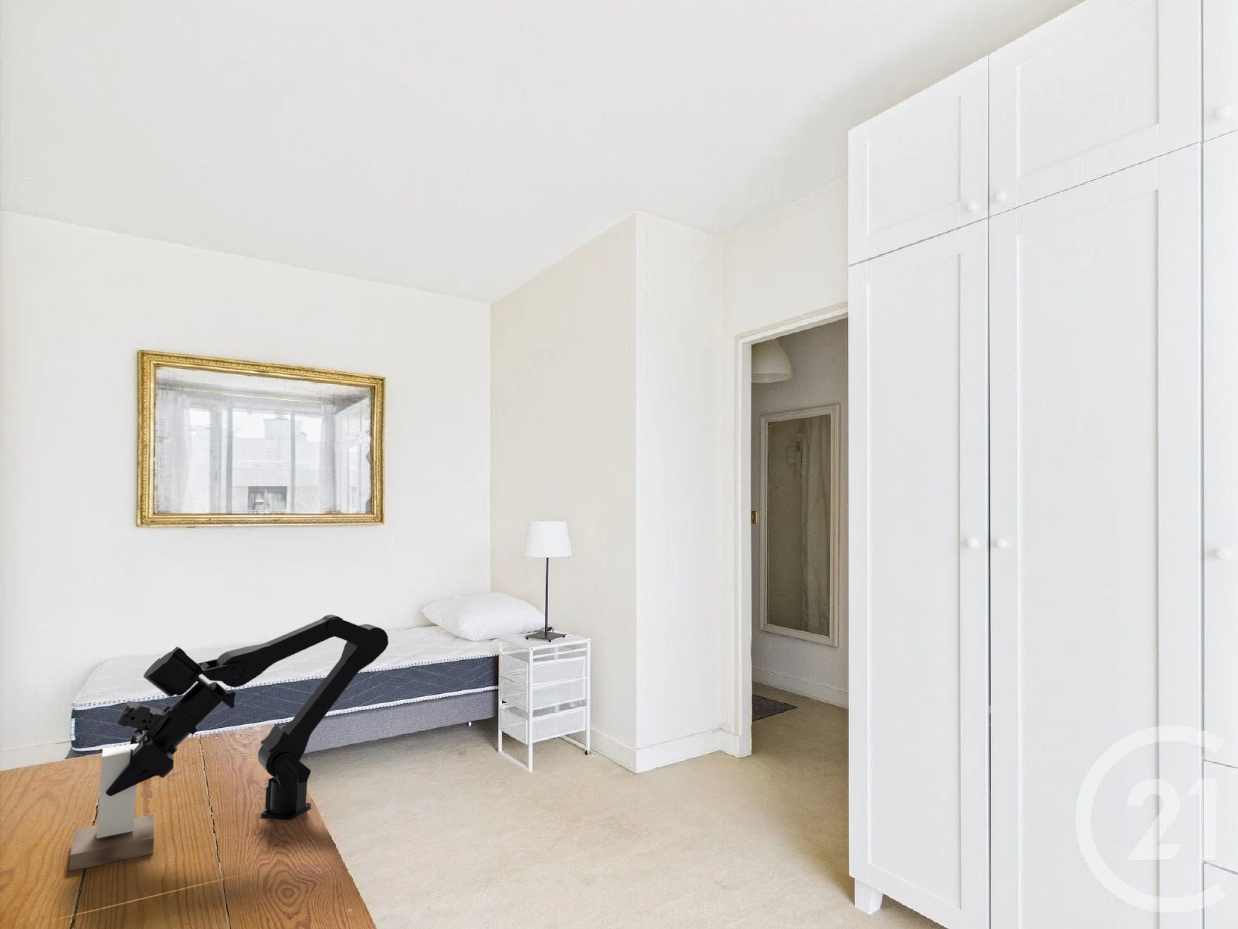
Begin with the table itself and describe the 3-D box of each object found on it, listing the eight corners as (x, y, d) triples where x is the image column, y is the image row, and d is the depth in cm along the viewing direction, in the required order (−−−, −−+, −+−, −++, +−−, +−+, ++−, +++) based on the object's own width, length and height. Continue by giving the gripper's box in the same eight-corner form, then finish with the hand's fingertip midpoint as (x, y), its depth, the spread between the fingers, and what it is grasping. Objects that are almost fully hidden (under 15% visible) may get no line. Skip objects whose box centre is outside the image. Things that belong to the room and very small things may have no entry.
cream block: (133, 820, 120) (138, 743, 121) (133, 831, 116) (138, 751, 117) (97, 827, 118) (103, 748, 119) (96, 838, 113) (101, 756, 114)
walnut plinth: (151, 829, 124) (152, 814, 124) (152, 853, 115) (154, 838, 115) (74, 844, 118) (75, 829, 118) (68, 871, 109) (70, 855, 109)
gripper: (151, 673, 129) (72, 745, 122) (153, 695, 113) (62, 778, 106) (198, 711, 132) (124, 782, 125) (206, 736, 117) (122, 819, 110)
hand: (108, 789), depth 117 cm, fingers closed on cream block, 5 cm apart
